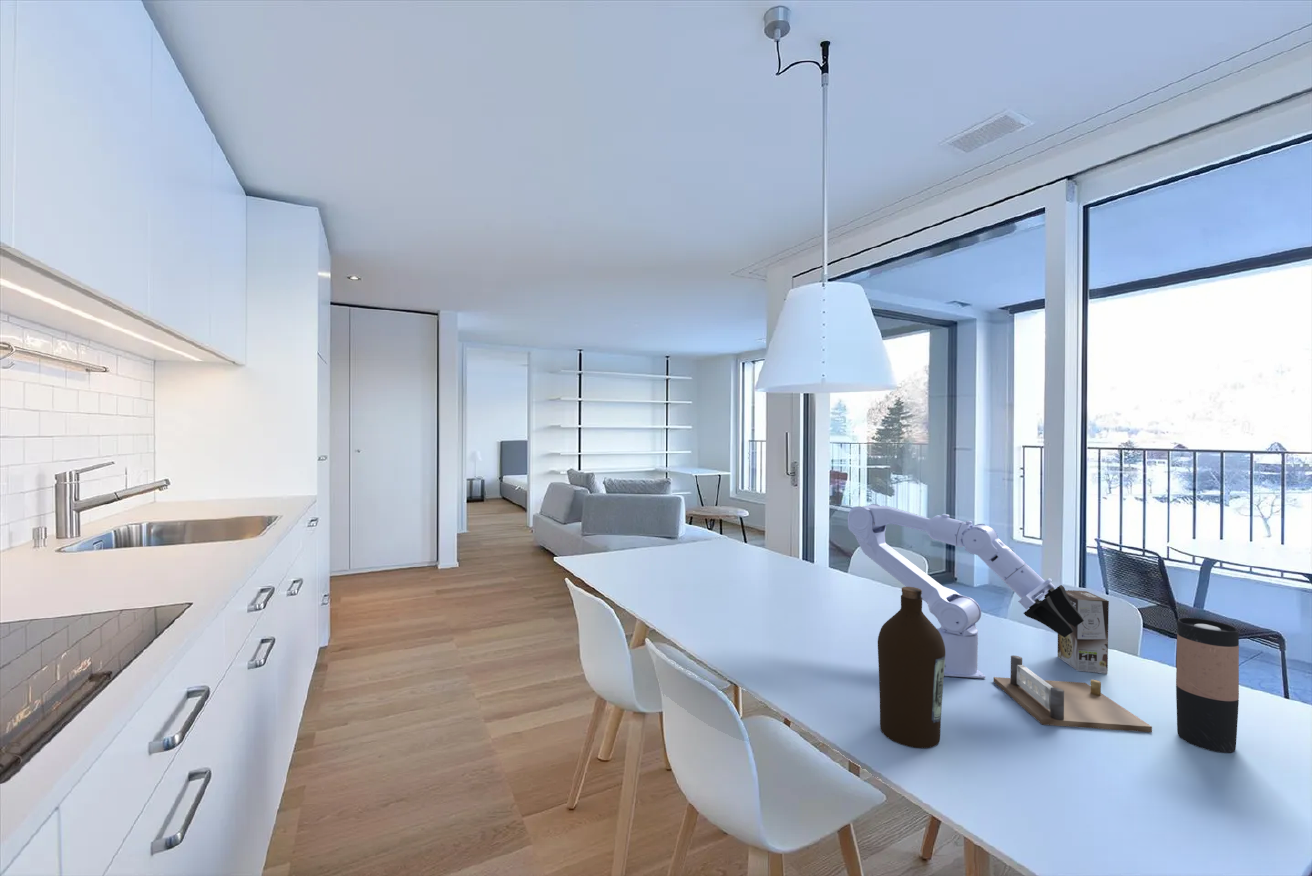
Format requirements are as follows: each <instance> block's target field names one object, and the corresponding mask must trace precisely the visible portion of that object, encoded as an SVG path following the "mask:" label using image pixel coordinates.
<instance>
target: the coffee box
mask: <svg viewBox="0 0 1312 876" xmlns="http://www.w3.org/2000/svg"><path fill="white" fill-rule="evenodd" d="M1065 591H1066V593H1067V596H1068V598H1069V599H1070V601H1071V603H1072V604H1073V606H1074V607H1075V608H1076V610H1077V611H1078V612H1079V614H1080V615H1081V616H1082V618H1083V620H1084V621H1083V622H1082V623H1080V624H1079V625H1077V626H1076V627H1074V626H1073V625H1071V624H1070V623H1068V624H1069V625H1070V626H1071V627H1072V629H1073V630H1074V631H1073V632H1072V633H1071V634H1069V635H1068V636H1066V637H1065V638H1064V637H1063V636H1061V635H1060V634H1058V633H1057V658H1059V659H1060V660H1062V661H1063V662H1064V663H1066V664H1067V665H1068V666H1069V667H1071V668H1073V670H1075V671H1077V672H1087V673H1095V674H1096V673H1097V674H1105V675H1106V674H1108V671H1109V670H1108V667H1109V665H1108V664H1109V615H1110V614H1109V611H1110V610H1109V606H1110V604H1109V603H1110V601H1109V600H1108V599H1105V598H1102V597H1100V596H1098V595H1096V594H1095V593H1092V592H1089V591H1086V590H1072V589H1071V590H1070V589H1068V590H1066V589H1065Z"/></svg>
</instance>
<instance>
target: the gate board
mask: <svg viewBox="0 0 1312 876" xmlns="http://www.w3.org/2000/svg"><path fill="white" fill-rule="evenodd" d="M1017 665H1023V657H1021V656H1019V655H1010V677H999V676H998V677H997V676H994V677H993V683H994V682H995V683H994V684H995V685H996V686H997V687H999V688H1000V689H1001V690H1002V691H1003V690H1004V691H1003V692H1004V693H1006V694H1007V695H1008V696H1009V697H1010V698H1011V697H1012V698H1013V701H1014V702H1016V703H1017V704H1018V705H1019V706H1020V707H1022V708H1023V710H1025V711H1026V712H1027V713H1028V714H1030V716H1032V718H1034V719H1035V720H1036V721H1038V722H1039V723H1040V724H1041V725H1042V726H1043V725H1044V726H1057V727H1071V728H1085V729H1097V730H1098V729H1099V730H1111V731H1113V730H1114V731H1130V732H1138V733H1139V732H1142V733H1153V726H1152V725H1150V724H1149V723H1147V721H1144V720H1143V719H1141V718H1140V717H1139V716H1136V715H1135V714H1134V713H1132V712H1131V711H1129V710H1128V709H1126V708H1124V707H1123V706H1121V705H1120V704H1118V703H1117V702H1115V701H1114V700H1112V699H1111V698H1110V697H1108V696H1106V695H1105V694H1103V693H1102V692H1101V691H1102V682H1101V681H1100V680H1097V679H1090V684H1088V683H1086V682H1082V681H1081V682H1080V681H1078V682H1076V681H1065V680H1064V681H1062V680H1047V679H1045V680H1044V679H1043V680H1044V681H1045V682H1047V683H1048V684H1050V685H1051V686H1052V688H1051V694H1050V710H1049V709H1047V708H1046V707H1045V706H1044V705H1042V704H1041V703H1040V702H1039V701H1038V700H1036V699H1035V698H1034V697H1033V696H1031V695H1030V694H1029V693H1028V692H1027V691H1025V690H1024V689H1023V688H1022V687H1020V686H1019V685H1018V684H1017ZM1012 698H1011V699H1012Z"/></svg>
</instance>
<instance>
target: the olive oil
mask: <svg viewBox="0 0 1312 876" xmlns="http://www.w3.org/2000/svg"><path fill="white" fill-rule="evenodd" d="M921 594H922V590H921V589H919V588H915V587H906V586H903V587H901V595H900V609H899V610H898V611H897V612H895V614H894V615H892V616H891V617H890V618H889V619H888V620H886V621H885V622H884V623H883V625H881V628H880V629H879V633H878V636H877V656H878V657H877V658H878V660H877V661H878V682H879V683H878V684H879V685H878V686H879V687H878V688H879V727H880V728H879V729H880V731H881V733H882V734H883V735H884V736H885V737H886V738H888V739H889V740H890V741H892V742H895V743H897V744H899V745H902V746H906V747H910V748H915V749H930V748H934V747H936V746H937V745H938V744H940V740H941V729H942V728H941V727H942V726H941V725H942V724H941V723H942V722H941V721H942V708H943V707H942V705H943V693H944V677H945V676H944V667H945V645H944V642H943V638H942V636H941V634H940V632H939V631H938V630H937V629H938V628H937V627H936V626H935V625H934V624H933V623H932V622H931V621H930V619H928V618H927V616H926V615H925V614H924V612H923V600H922V597H921Z"/></svg>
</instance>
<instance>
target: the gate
mask: <svg viewBox="0 0 1312 876" xmlns="http://www.w3.org/2000/svg"><path fill="white" fill-rule="evenodd" d="M1017 684H1018V685H1019V686H1020V687H1022V688H1023V689H1024V690H1025V691H1027V692H1028V693H1029V694H1030V695H1031V696H1033V697H1034V698H1035V699H1036V700H1038V701H1039V702H1040V703H1041V704H1042V705H1044V706H1045V707H1046V708H1047V709H1049V710H1050V694H1051V688H1052V686H1051V685H1050V684H1048V683H1047V682H1045V681H1044V679H1043V678H1042V677H1040V676H1039V675H1037V673H1035V672H1033V671H1032V670H1031V669H1029V668H1028V667H1027V666H1025V665H1024V664H1022V665H1017Z"/></svg>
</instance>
